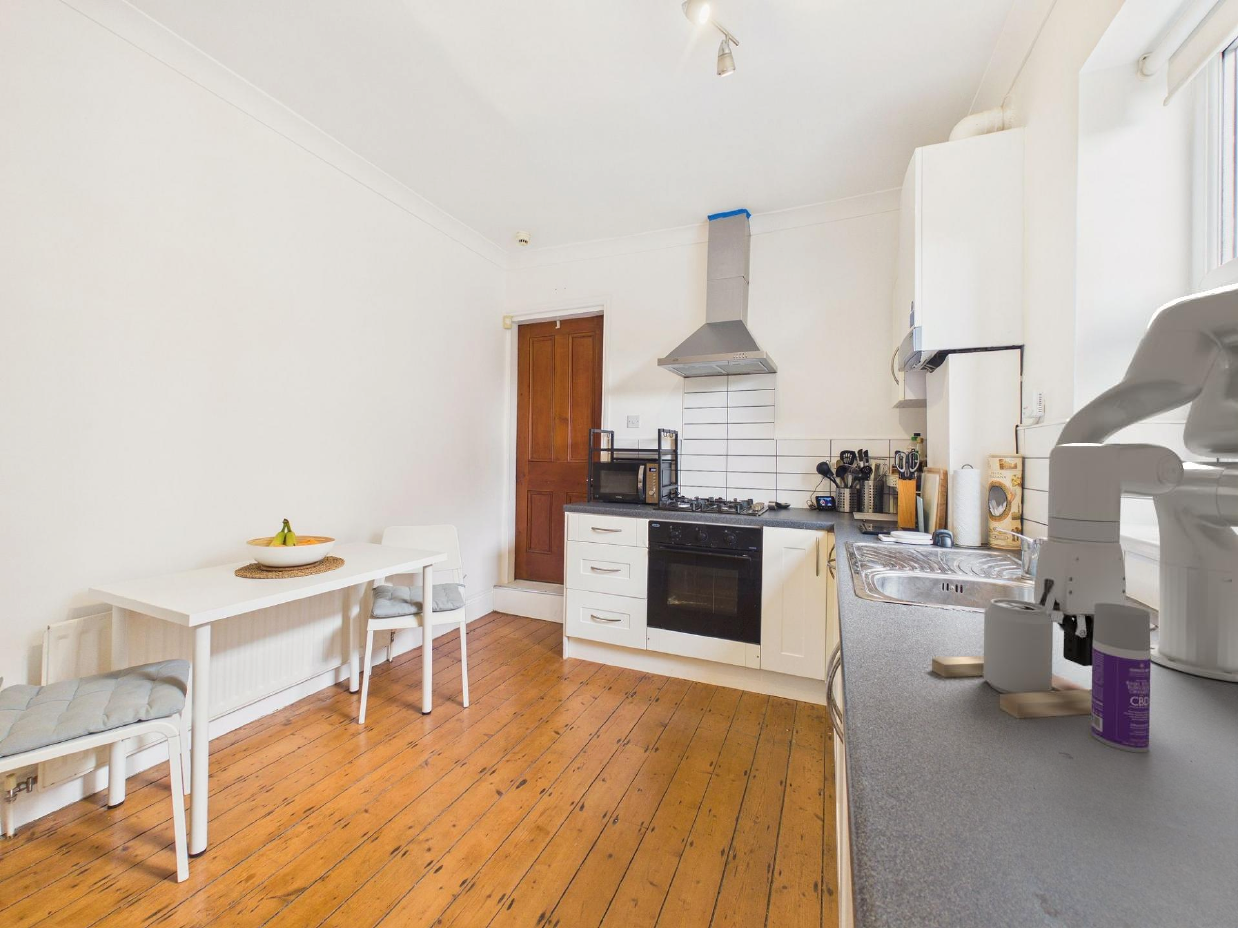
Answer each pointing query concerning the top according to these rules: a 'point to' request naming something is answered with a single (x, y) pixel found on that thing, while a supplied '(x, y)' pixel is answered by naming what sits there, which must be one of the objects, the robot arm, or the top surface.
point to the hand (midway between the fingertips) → (1079, 661)
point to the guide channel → (1024, 705)
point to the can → (1018, 646)
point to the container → (1121, 677)
